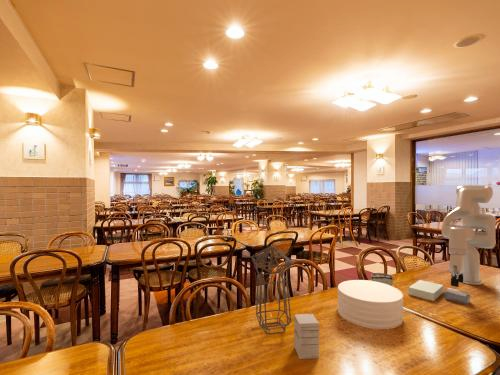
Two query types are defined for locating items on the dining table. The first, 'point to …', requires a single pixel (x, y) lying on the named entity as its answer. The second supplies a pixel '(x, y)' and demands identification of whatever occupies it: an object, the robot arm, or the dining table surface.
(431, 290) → the stand
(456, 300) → the housing base
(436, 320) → the dining table surface
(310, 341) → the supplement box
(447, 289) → the cover
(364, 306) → the plate stack
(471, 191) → the robot arm
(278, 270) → the geometric lantern
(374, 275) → the food container
